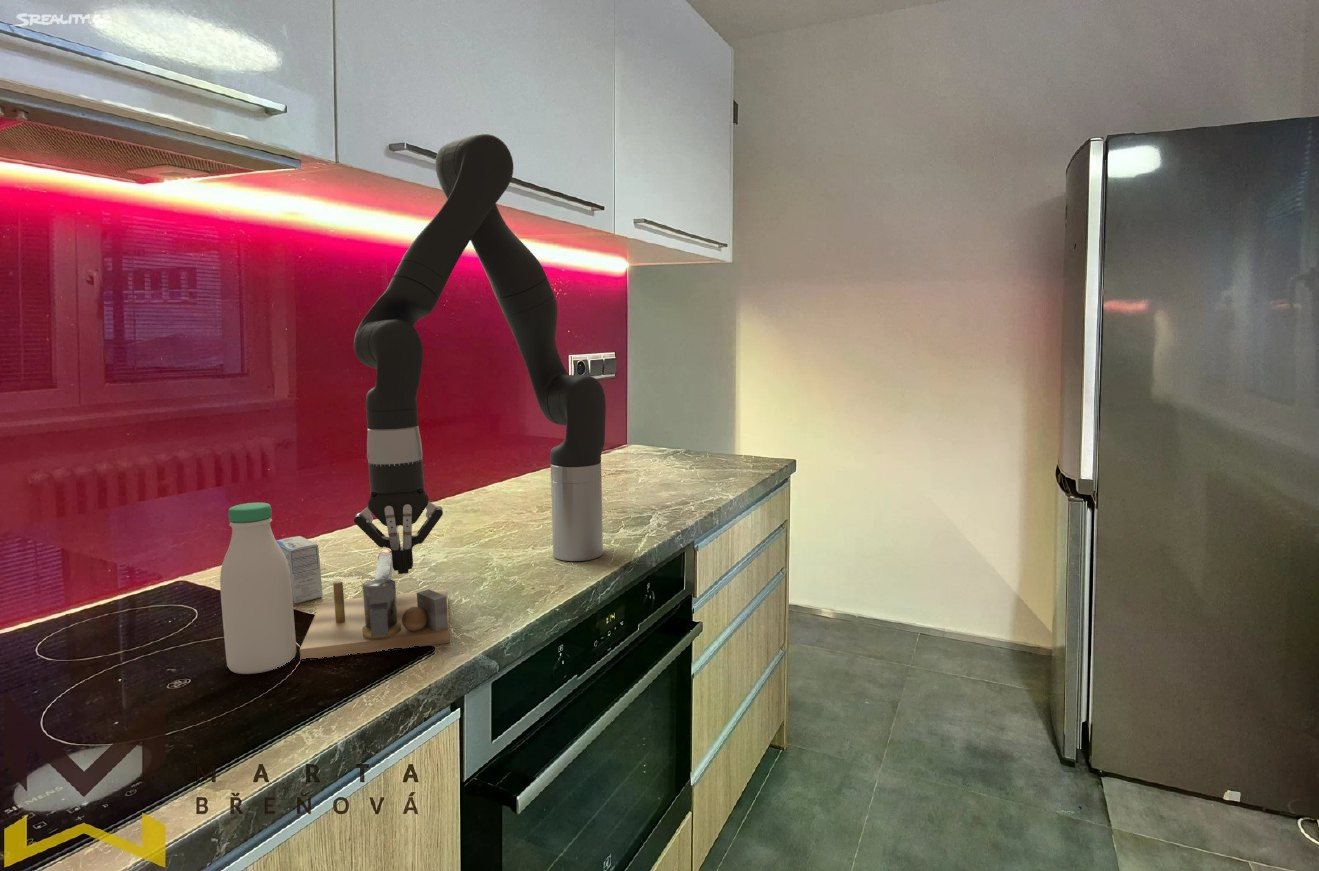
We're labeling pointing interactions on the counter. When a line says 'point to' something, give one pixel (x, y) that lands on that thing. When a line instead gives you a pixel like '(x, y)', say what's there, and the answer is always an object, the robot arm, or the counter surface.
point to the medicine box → (303, 568)
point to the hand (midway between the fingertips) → (403, 572)
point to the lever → (381, 597)
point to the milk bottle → (256, 594)
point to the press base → (346, 632)
